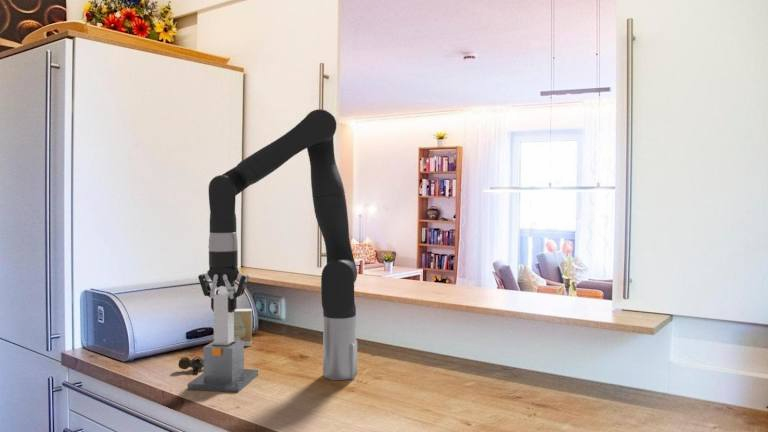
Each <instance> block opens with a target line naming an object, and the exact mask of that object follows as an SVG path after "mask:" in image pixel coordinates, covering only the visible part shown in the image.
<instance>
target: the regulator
mask: <svg viewBox="0 0 768 432" xmlns="http://www.w3.org/2000/svg"><path fill="white" fill-rule="evenodd" d="M177 365H178V367H179V369H180V370H181V369H182V370H188V369H189V368H192V376H194V375H196V376H197V375H198V374H199V372H200V370H202V369H203V368H204V358H203V357H202V356H196V357H194V358H192V359H190V358H189V357H185V356H184V357H182V358H180V359H179V361H178V364H177Z"/></svg>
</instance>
